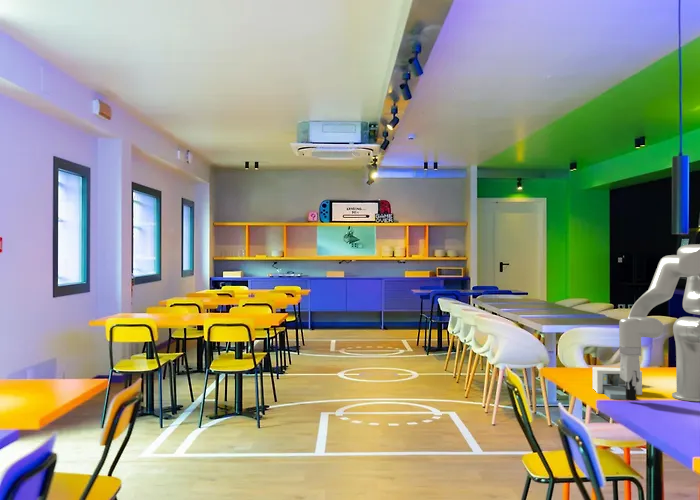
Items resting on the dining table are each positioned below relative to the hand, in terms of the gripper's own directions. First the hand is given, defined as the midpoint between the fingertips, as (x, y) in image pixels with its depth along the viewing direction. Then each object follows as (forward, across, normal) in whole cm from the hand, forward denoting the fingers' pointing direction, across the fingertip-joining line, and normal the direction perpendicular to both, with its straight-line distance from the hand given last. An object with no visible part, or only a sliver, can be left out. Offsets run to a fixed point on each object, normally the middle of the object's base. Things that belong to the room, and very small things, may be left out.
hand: (630, 399), depth 227 cm
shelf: (+1, -19, 0) cm, 19 cm away
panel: (+2, -12, -2) cm, 13 cm away
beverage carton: (+2, -32, +4) cm, 33 cm away
